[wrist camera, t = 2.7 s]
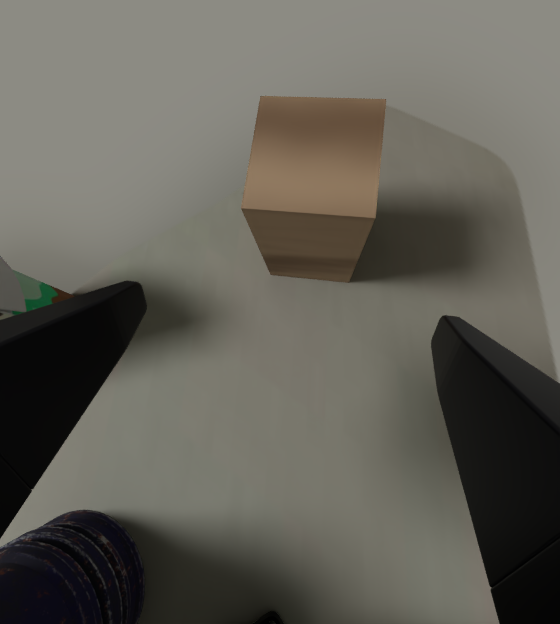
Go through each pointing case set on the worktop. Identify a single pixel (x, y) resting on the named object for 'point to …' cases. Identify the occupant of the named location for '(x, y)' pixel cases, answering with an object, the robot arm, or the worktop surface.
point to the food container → (24, 292)
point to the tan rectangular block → (314, 183)
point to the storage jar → (72, 573)
